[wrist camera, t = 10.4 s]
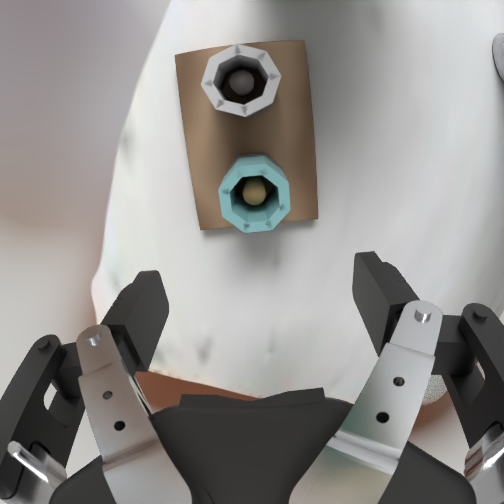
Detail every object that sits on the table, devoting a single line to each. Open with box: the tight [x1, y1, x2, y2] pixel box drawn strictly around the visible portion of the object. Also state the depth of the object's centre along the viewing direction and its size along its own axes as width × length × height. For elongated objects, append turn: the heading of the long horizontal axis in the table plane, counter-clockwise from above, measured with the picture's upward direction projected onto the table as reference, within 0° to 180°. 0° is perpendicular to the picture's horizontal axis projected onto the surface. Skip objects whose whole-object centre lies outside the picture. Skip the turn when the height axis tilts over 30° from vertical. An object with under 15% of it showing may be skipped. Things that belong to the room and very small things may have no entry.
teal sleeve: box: [218, 152, 291, 233], centre depth 24 cm, size 5×5×6 cm
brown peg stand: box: [175, 40, 318, 230], centre depth 24 cm, size 12×18×6 cm, turn 6°
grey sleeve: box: [201, 44, 281, 118], centre depth 20 cm, size 5×5×6 cm
